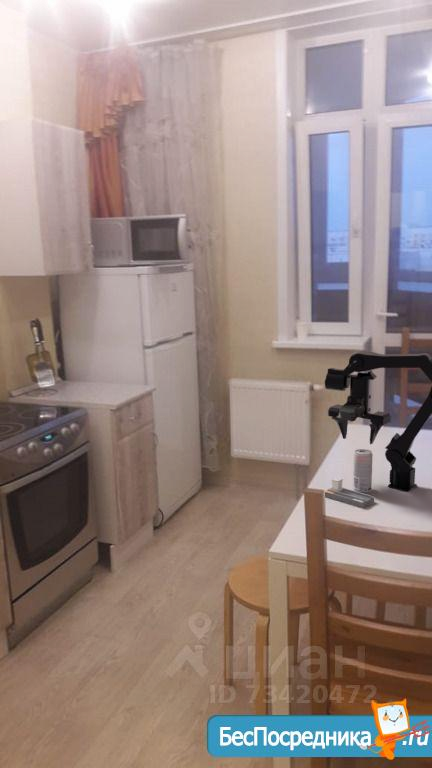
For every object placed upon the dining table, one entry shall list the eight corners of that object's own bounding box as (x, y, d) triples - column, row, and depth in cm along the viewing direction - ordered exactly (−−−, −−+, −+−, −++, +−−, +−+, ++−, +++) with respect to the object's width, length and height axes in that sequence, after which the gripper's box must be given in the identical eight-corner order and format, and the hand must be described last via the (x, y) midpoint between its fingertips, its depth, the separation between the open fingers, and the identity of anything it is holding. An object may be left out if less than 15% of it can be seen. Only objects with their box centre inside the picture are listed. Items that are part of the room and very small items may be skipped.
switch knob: (342, 490, 180) (342, 479, 179) (337, 492, 178) (337, 481, 177) (336, 488, 181) (336, 477, 180) (331, 490, 179) (331, 479, 179)
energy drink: (368, 486, 187) (369, 448, 184) (373, 492, 181) (374, 454, 179) (351, 486, 187) (352, 449, 184) (355, 493, 181) (356, 454, 179)
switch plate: (374, 501, 175) (374, 494, 174) (363, 508, 171) (363, 501, 170) (335, 490, 184) (335, 484, 183) (324, 496, 179) (324, 489, 179)
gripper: (319, 392, 187) (318, 441, 190) (375, 401, 175) (373, 453, 178) (337, 386, 195) (336, 433, 198) (392, 394, 183) (390, 444, 186)
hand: (357, 441), depth 190 cm, fingers open, 9 cm apart
